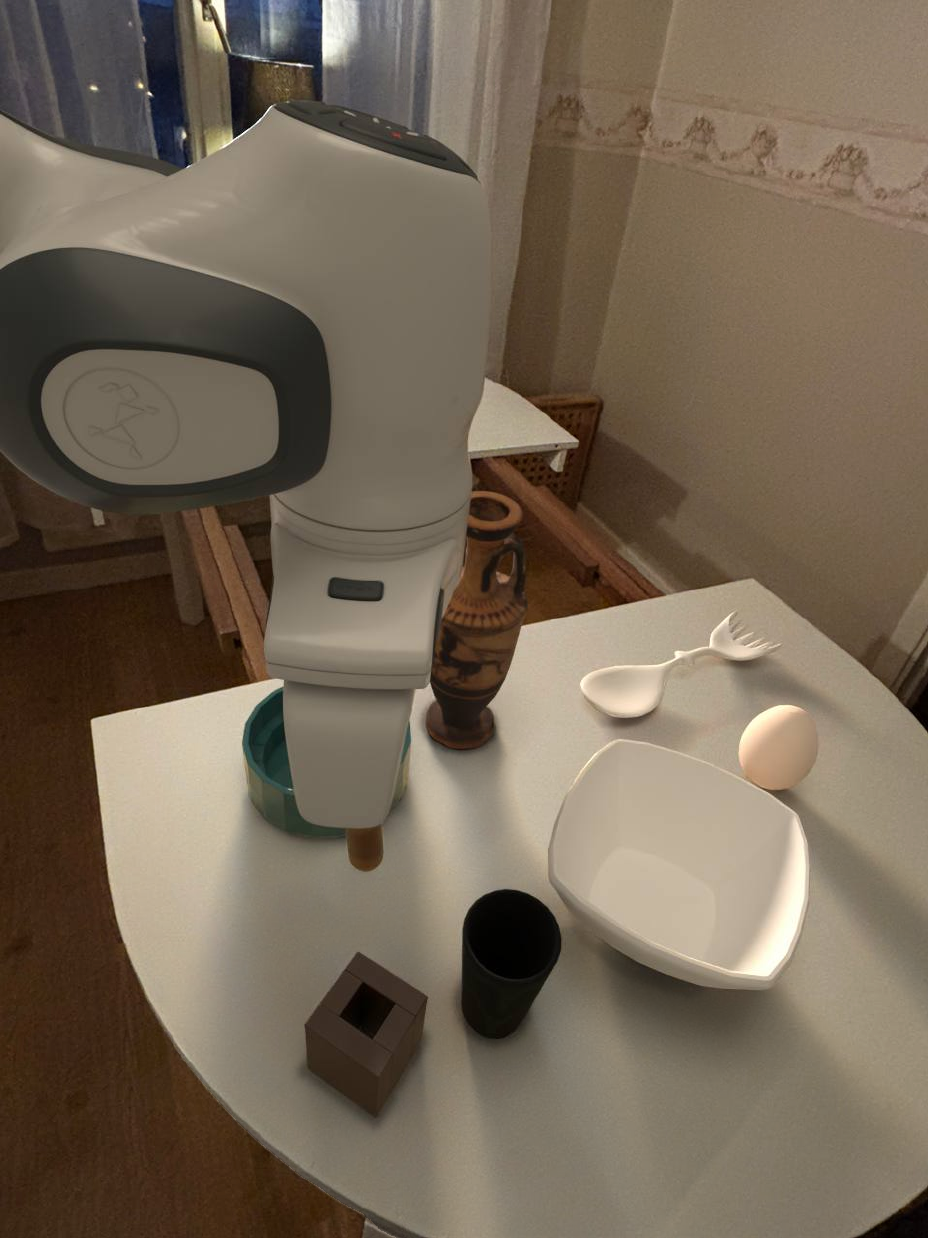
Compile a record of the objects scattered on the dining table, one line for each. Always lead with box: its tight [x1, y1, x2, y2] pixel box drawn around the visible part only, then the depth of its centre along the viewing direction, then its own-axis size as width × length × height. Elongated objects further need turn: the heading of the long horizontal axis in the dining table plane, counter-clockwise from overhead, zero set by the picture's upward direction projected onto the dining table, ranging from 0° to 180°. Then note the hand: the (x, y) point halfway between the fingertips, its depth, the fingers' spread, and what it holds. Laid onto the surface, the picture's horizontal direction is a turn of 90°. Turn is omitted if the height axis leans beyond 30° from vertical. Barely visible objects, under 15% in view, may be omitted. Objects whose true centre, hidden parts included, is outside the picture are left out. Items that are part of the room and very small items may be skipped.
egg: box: [738, 704, 819, 791], centre depth 84 cm, size 8×8×11 cm
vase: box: [424, 490, 529, 750], centre depth 80 cm, size 11×11×30 cm
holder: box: [304, 950, 429, 1119], centre depth 57 cm, size 7×7×8 cm
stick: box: [345, 823, 385, 873], centre depth 45 cm, size 2×2×18 cm
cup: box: [460, 888, 563, 1040], centre depth 60 cm, size 8×8×12 cm
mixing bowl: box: [241, 686, 412, 839], centre depth 79 cm, size 17×17×7 cm
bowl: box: [547, 738, 811, 991], centre depth 69 cm, size 22×22×12 cm
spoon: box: [579, 610, 783, 719], centre depth 99 cm, size 9×32×4 cm, turn 122°
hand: (365, 737), depth 43 cm, fingers closed on stick, 2 cm apart
